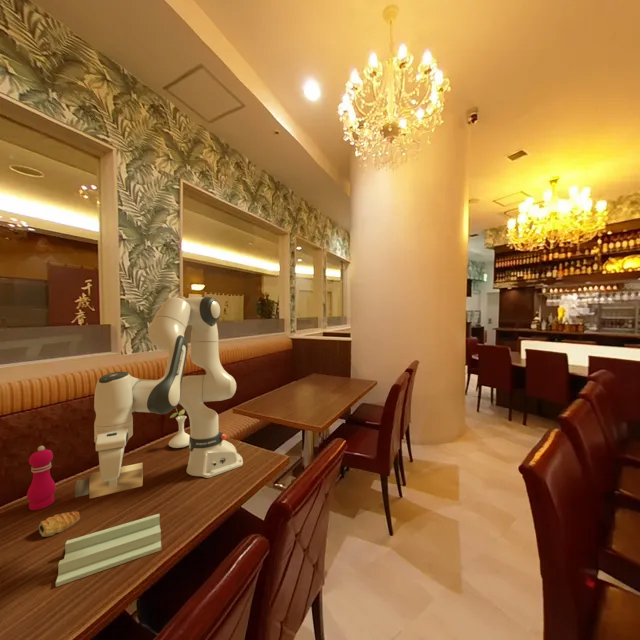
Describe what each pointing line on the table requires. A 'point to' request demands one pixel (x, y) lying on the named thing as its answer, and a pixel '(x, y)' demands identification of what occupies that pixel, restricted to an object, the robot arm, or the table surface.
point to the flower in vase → (180, 432)
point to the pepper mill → (41, 480)
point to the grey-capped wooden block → (96, 487)
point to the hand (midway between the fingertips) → (114, 481)
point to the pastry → (58, 523)
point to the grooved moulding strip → (109, 548)
